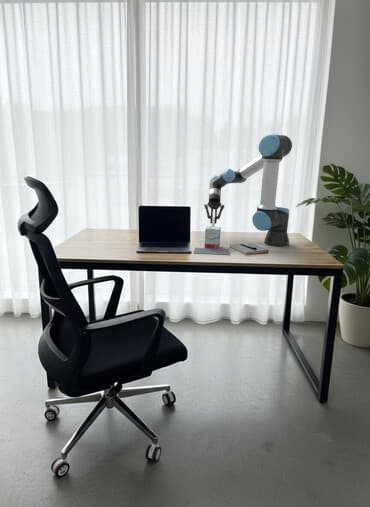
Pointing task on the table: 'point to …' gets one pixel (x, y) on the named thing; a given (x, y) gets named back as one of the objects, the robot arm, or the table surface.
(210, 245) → the ink box
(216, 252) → the felt pad
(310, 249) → the table surface
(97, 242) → the table surface
